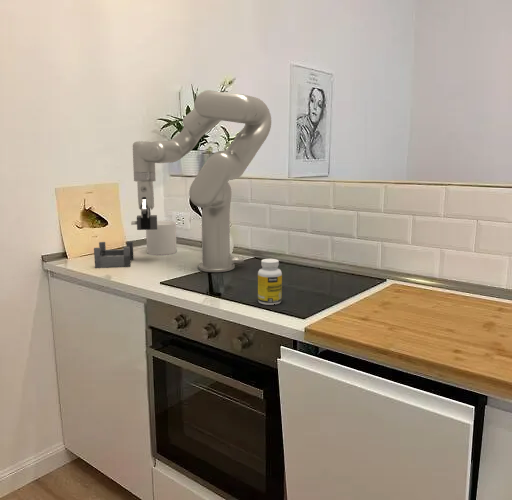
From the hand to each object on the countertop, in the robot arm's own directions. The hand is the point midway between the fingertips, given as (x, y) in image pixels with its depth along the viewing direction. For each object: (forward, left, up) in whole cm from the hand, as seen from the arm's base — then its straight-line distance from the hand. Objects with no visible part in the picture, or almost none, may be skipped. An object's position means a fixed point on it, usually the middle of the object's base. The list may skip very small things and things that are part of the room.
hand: (146, 227), depth 183 cm
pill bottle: (-36, +54, -13) cm, 67 cm away
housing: (+12, 0, -13) cm, 18 cm away
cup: (-4, -18, -13) cm, 23 cm away
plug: (0, 0, -1) cm, 1 cm away
